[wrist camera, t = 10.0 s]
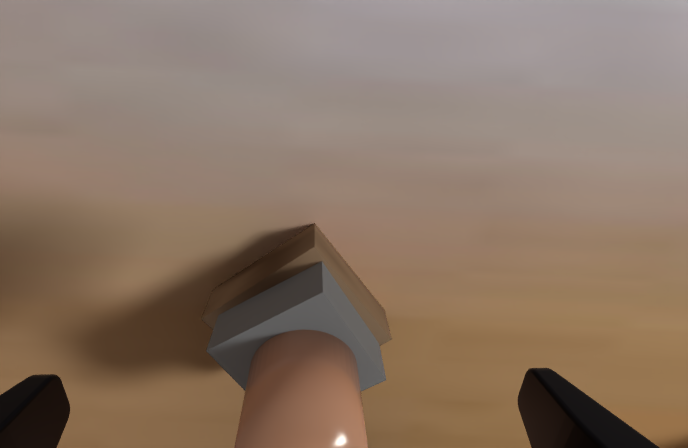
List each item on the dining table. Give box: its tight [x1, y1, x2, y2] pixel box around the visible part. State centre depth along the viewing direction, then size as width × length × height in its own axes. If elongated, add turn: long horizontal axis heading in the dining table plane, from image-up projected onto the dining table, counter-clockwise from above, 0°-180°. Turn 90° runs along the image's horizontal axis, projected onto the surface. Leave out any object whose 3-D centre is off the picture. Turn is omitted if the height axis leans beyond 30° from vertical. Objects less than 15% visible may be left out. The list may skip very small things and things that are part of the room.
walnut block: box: [201, 223, 392, 346], centre depth 22 cm, size 7×7×3 cm
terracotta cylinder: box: [235, 330, 368, 448], centre depth 16 cm, size 5×5×5 cm
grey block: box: [206, 262, 386, 391], centre depth 20 cm, size 6×6×2 cm
